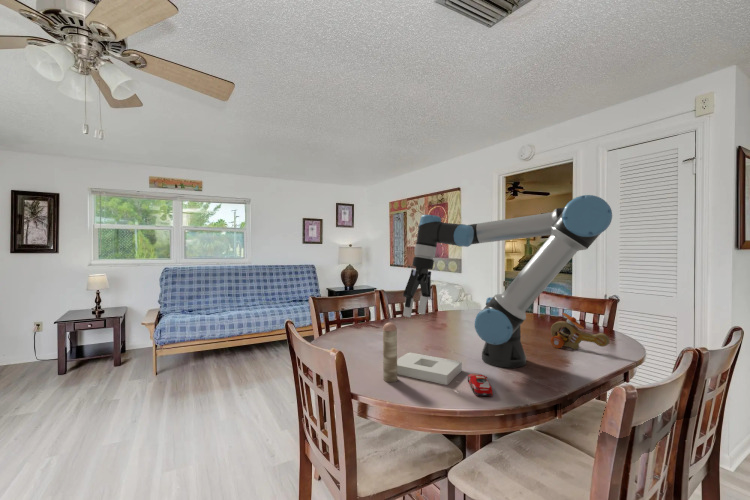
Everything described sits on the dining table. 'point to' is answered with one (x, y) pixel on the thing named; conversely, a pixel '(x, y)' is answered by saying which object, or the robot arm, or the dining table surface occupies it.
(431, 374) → the block
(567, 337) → the toy helicopter
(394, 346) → the round-tipped rod
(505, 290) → the robot arm
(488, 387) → the race car
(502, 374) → the dining table surface
